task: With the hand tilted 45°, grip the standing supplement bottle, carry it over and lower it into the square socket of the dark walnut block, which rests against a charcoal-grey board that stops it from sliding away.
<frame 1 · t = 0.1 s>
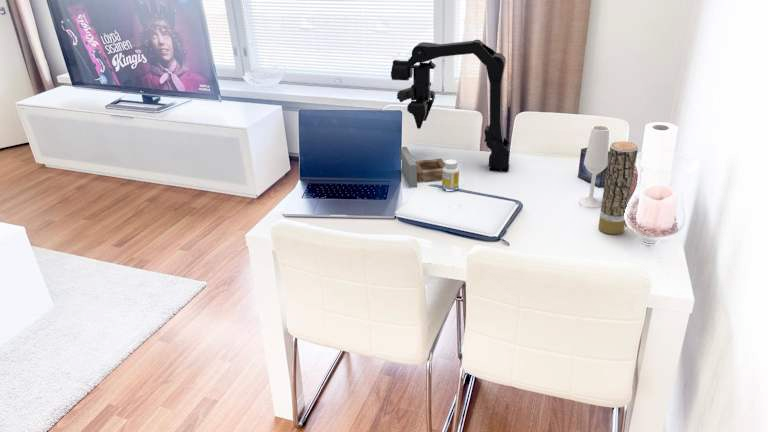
hand: (421, 124, 208), 15 cm above the table, tool pointing down, fingers open, 9 cm apart
champagne flute: (590, 203, 180), on the table
grey backstop board: (408, 177, 203), on the table
supplement bottle: (450, 189, 193), on the table
small box: (594, 181, 195), on the table
walnut socket block: (429, 176, 204), on the table
bark print cylinder: (610, 230, 164), on the table
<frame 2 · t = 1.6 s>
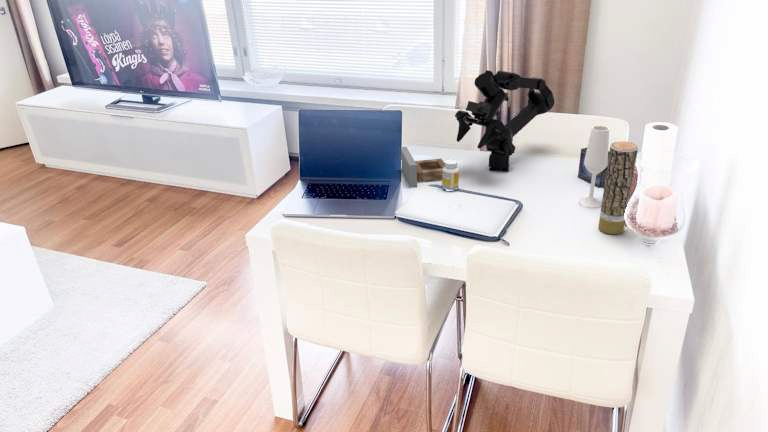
hand: (467, 144, 191), 13 cm above the table, tool tilted 45°, fingers open, 9 cm apart
nothing on the table moved.
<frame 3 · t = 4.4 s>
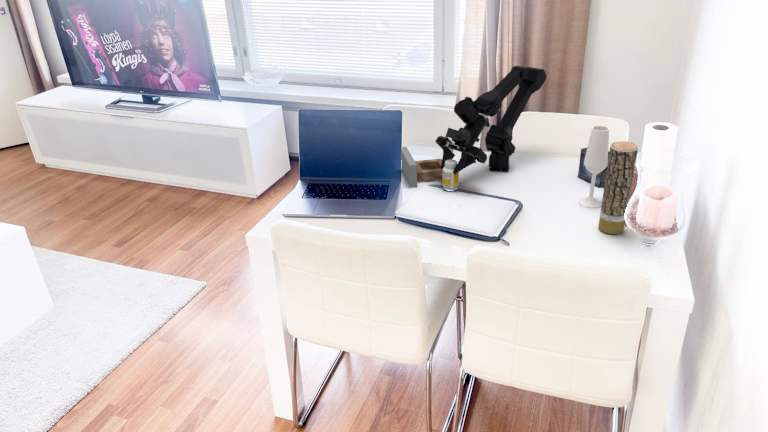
hand: (447, 171, 189), 7 cm above the table, tool tilted 45°, fingers closed on supplement bottle, 5 cm apart
supplement bottle: (450, 189, 193), on the table, touching gripper
everything else where it was.
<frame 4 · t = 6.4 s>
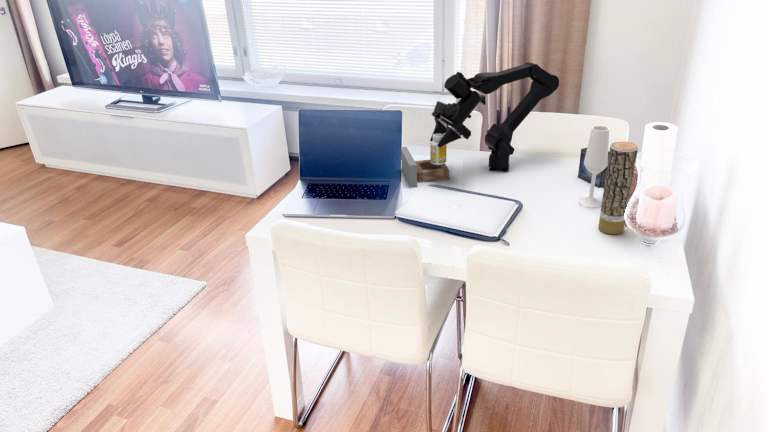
hand: (434, 144, 193), 13 cm above the table, tool tilted 45°, fingers closed on supplement bottle, 5 cm apart
supplement bottle: (438, 162, 197), point 6 cm above the table, touching gripper
everything else where it was.
when the fingers open (9 cm above the table, at t = 8.7 s): supplement bottle drops 2 cm, resting on walnut socket block.
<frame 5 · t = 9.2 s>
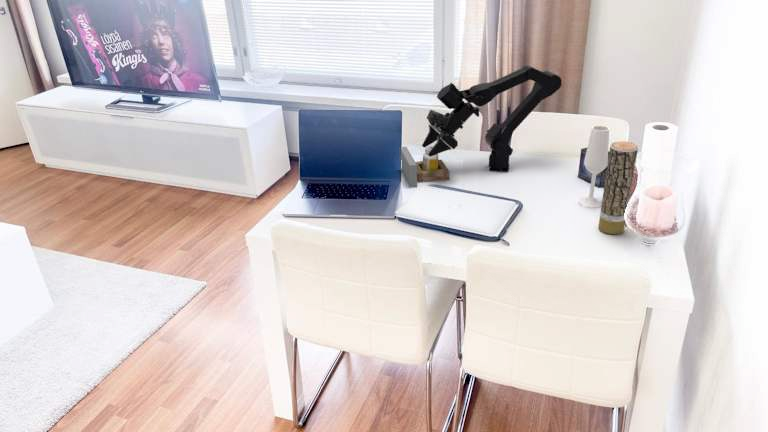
hand: (425, 151, 200), 9 cm above the table, tool tilted 45°, fingers open, 9 cm apart
supplement bottle: (430, 174, 204), resting on walnut socket block
walnut socket block: (429, 177, 204), on the table, touching supplement bottle
everything else where it was.
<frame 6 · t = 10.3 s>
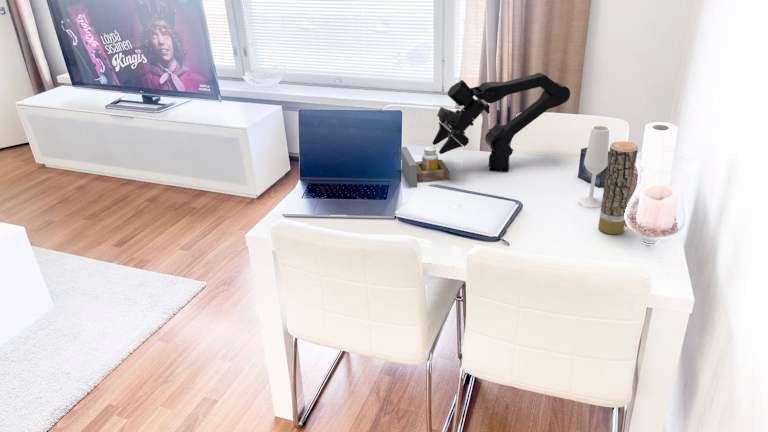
hand: (436, 148, 200), 10 cm above the table, tool tilted 45°, fingers open, 9 cm apart
nothing on the table moved.
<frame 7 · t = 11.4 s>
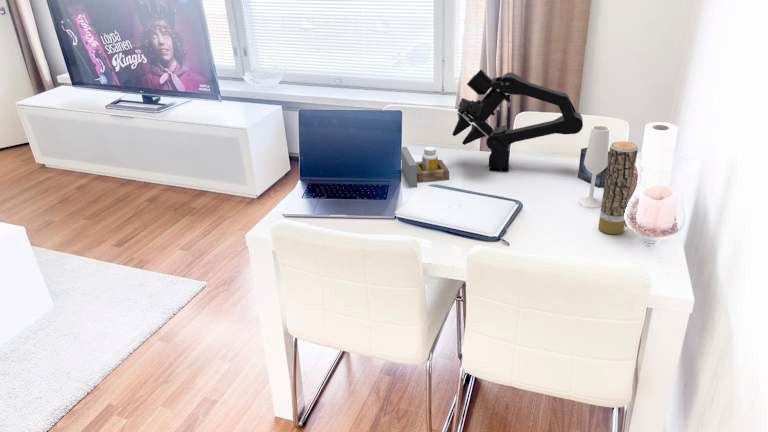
hand: (458, 139, 200), 12 cm above the table, tool tilted 45°, fingers open, 9 cm apart
nothing on the table moved.
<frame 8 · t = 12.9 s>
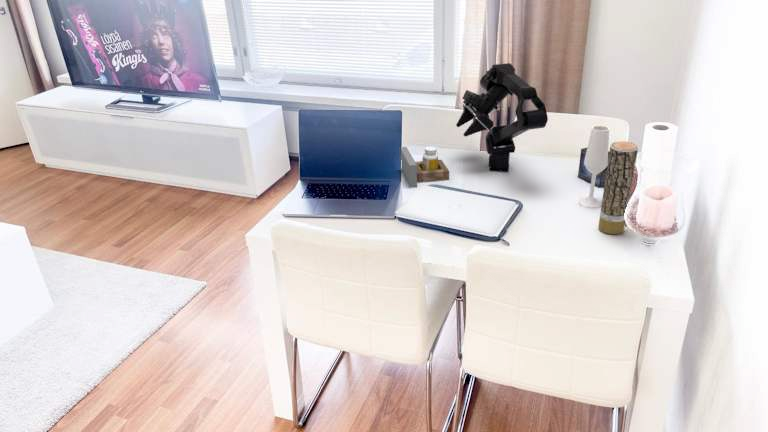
hand: (460, 130, 203), 14 cm above the table, tool tilted 45°, fingers open, 9 cm apart
supplement bottle: (429, 174, 204), resting on walnut socket block
walnut socket block: (429, 177, 204), on the table
everything else where it was.
at the end: supplement bottle 0.1 cm off-centre on the walnut socket block, point 0.9 cm above the walnut socket block's base; supplement bottle tilted 2°; walnut socket block moved 0.7 cm from its start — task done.
